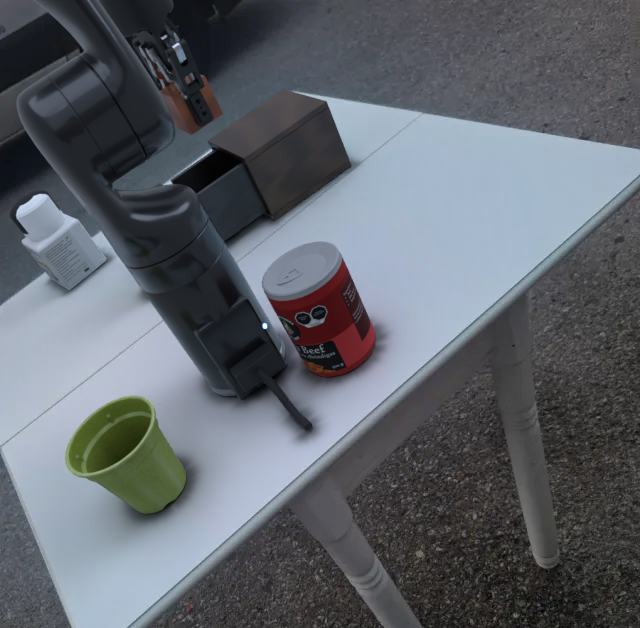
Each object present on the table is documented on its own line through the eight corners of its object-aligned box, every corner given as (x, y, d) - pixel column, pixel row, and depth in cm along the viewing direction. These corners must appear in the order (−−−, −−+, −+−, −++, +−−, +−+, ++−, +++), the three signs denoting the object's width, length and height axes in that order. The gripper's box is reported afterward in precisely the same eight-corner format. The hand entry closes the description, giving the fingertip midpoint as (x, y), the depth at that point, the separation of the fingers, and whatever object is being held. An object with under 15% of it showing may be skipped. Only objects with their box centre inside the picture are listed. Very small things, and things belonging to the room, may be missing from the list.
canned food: (292, 364, 75) (246, 283, 67) (345, 316, 77) (305, 233, 69) (337, 389, 69) (292, 305, 62) (393, 337, 71) (355, 249, 64)
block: (223, 113, 90) (204, 75, 87) (191, 135, 89) (171, 97, 86) (208, 107, 94) (189, 70, 90) (177, 128, 93) (157, 92, 90)
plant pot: (105, 533, 69) (48, 480, 63) (136, 457, 75) (87, 402, 69) (186, 526, 65) (133, 469, 59) (212, 446, 71) (167, 388, 65)
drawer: (185, 274, 95) (154, 226, 90) (157, 249, 104) (128, 204, 98) (283, 204, 98) (259, 153, 92) (249, 185, 106) (224, 138, 101)
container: (51, 280, 113) (-5, 211, 105) (88, 250, 115) (37, 181, 107) (69, 291, 108) (12, 220, 99) (108, 260, 110) (55, 187, 101)
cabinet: (275, 220, 97) (243, 158, 91) (237, 198, 107) (206, 140, 100) (352, 165, 99) (326, 100, 93) (308, 148, 108) (283, 88, 102)
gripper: (81, -6, 85) (156, 125, 96) (115, -1, 74) (195, 146, 86) (132, -38, 86) (201, 95, 97) (173, -38, 75) (244, 112, 87)
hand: (198, 118), depth 91 cm, fingers closed on block, 5 cm apart
